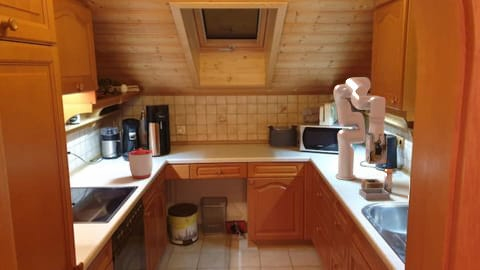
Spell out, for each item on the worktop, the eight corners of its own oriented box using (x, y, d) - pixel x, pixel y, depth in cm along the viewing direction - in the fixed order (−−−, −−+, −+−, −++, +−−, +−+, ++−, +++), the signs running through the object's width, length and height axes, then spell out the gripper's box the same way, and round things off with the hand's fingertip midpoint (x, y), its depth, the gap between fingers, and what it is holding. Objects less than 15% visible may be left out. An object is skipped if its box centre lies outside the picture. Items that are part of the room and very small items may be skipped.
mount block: (361, 187, 223) (361, 179, 223) (376, 187, 224) (376, 178, 223) (366, 192, 214) (367, 183, 214) (382, 191, 215) (382, 183, 214)
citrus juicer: (130, 174, 263) (128, 145, 260) (155, 173, 264) (154, 145, 260) (124, 180, 248) (122, 150, 245) (150, 179, 248) (149, 149, 245)
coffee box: (381, 161, 207) (382, 131, 204) (386, 163, 201) (387, 133, 198) (364, 161, 207) (365, 132, 204) (369, 164, 200) (370, 134, 198)
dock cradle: (359, 194, 211) (359, 188, 211) (382, 193, 212) (382, 188, 211) (365, 199, 201) (365, 194, 201) (389, 199, 202) (389, 193, 201)
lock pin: (382, 191, 215) (383, 169, 213) (389, 191, 216) (390, 168, 213) (385, 193, 211) (386, 170, 209) (392, 193, 212) (393, 170, 210)
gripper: (364, 118, 208) (363, 150, 211) (376, 122, 191) (375, 157, 194) (377, 118, 209) (376, 150, 212) (391, 122, 192) (389, 156, 194)
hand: (375, 153), depth 203 cm, fingers closed on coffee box, 6 cm apart
